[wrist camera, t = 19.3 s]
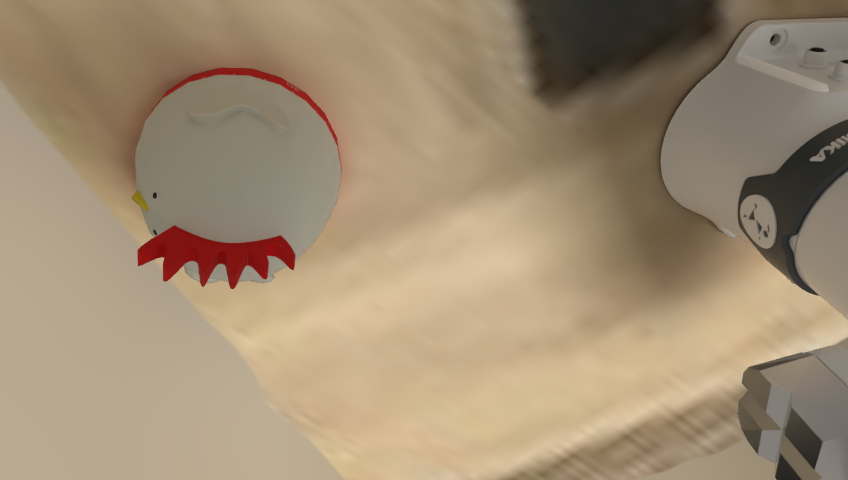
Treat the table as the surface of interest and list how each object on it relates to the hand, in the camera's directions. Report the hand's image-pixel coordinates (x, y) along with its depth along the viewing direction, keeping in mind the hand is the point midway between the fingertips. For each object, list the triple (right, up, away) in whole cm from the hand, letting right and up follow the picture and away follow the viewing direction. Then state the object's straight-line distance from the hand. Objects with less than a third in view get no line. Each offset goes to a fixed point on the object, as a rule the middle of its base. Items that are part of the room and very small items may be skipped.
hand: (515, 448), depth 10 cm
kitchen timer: (-15, +9, +34) cm, 38 cm away
